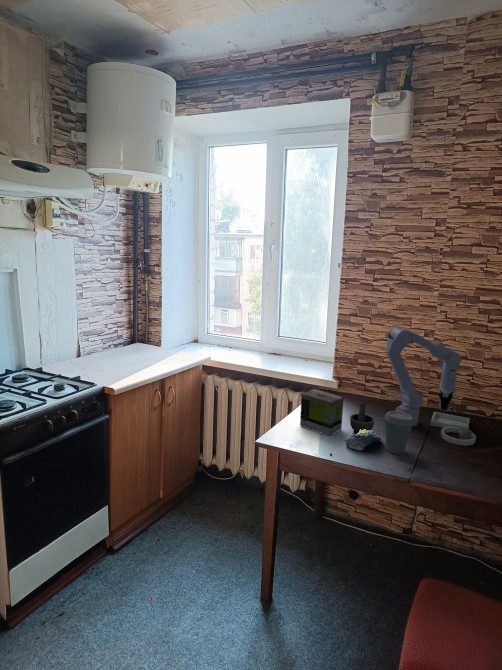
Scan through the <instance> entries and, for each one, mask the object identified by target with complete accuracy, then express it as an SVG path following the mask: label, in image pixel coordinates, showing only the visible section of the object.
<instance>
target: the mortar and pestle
mask: <svg viewBox="0 0 502 670" xmlns="http://www.w3.org/2000/svg"><path fill="white" fill-rule="evenodd" d="M358 405H359V407H358V408H359V411H358V413H354V414H351V415H350V416H349V424H350V427H351V429H352V430H353V434H352V435H354V434H357V433H358V432H359V430H360V429H361V430H363V429H366V430H370V431H372V429H373V428H374V426H375V425H374V424H375V418H374V417H372V416H371V415H370V414H366V405H367V403H366V402H359V404H358Z"/></svg>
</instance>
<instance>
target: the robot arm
mask: <svg viewBox="0 0 502 670" xmlns="http://www.w3.org/2000/svg"><path fill="white" fill-rule="evenodd" d="M387 332H388V333H387V334H386V337H387V341H386V350H385V352H386V354H387V358H388V359H389V362H390V365H391V367H392V370H393V372H394V374H395V376H396V379H397V381H398V384H399V385H400V387H399V390H400V398H401V399H402V402H401V404H400V405H399V406H396V408H395V410H394V411H399V412H404V413H407V414H409V415H411V416H412V417H413V419H414V424H413V425H412V427H416V426H418V423H419V415H420V414H419V413H420V408H421V406H422V405H423V404H424V398H423V396H422V395H421V394H420V393H419V392H418V391H419V390H417V388H416V387H415V385H414V383H413V381H412V378H411V376H410V373H409V371H408V369H407V366H406V364H405V361H404V359H403V356H402V354H401V352H402V351H403V350H404V349H405V348H406V347H407V346H408V345H409V344H411V345H412V344H417V345H419V346H422V347H423V348H425V349H427V350H428V354H430V355H431V356H433V357H435V358H437V359H439V360H441V361H442V362H443V363H442V369H441V377H440V384H439V387H438V388H439V392H438V397H439V402H440V401H441V409H442V410H447V408H448V405H449V402H450V401H451V400H452V399H453V398H454V393H455V392H458V388H455V386H456V380H457V373H458V372H457V371H458V368H459V365H460V364H461V363H462V357H461V354H459V353H458V352H456V351H455V350H453V348H451V347H447V346H445V345H444V343H443V342H441V341H439V342H438V341H435V342H434V341H433V342H431V341H430V340H429V339H426V338H425V337H422V336H421V335H419V334H418V333H416V332H414V331H412V330H409V329H406V328H402V327H401V326H399V325H395V326H392V327H391V328H390V329H389V331H387ZM451 402H452V401H451ZM442 410H441V411H442Z"/></svg>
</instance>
